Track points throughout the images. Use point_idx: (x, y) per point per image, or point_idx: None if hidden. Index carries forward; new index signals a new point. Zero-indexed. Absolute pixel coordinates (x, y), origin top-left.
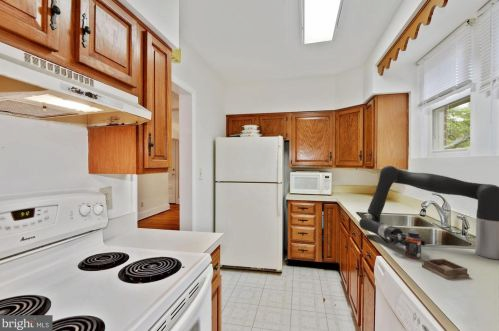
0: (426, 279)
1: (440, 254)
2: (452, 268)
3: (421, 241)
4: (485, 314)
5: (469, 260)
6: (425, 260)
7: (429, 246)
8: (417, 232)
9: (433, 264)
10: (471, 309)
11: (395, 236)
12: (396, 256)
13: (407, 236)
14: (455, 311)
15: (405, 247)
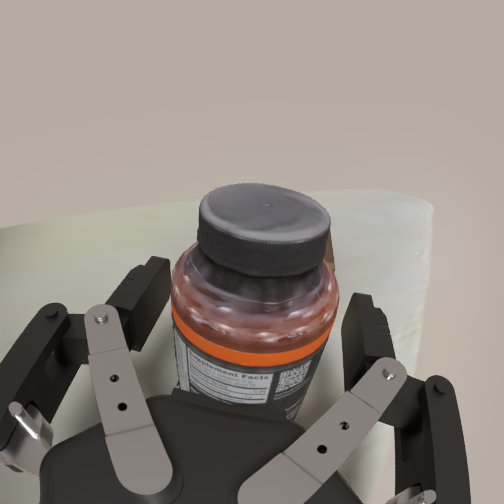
0: (394, 257)
1: (12, 337)
2: None
3: (157, 284)
4: (371, 193)
5: (18, 259)
6: (330, 264)
7: None
8: (217, 191)
9: (330, 240)
10: (384, 200)
11: (353, 495)
12: (370, 442)
13: (324, 293)
14: (416, 208)
15: (297, 403)
